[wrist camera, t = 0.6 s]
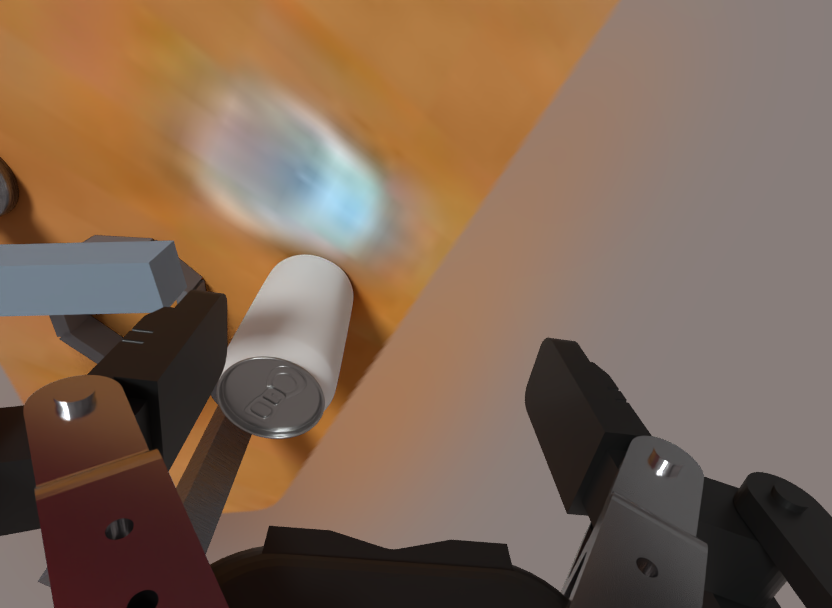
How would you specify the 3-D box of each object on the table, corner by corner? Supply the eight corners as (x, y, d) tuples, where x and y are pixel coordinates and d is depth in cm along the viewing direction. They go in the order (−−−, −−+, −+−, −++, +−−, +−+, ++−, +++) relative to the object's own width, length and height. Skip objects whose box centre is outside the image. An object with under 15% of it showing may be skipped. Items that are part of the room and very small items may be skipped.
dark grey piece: (224, 323, 36) (88, 542, 21) (302, 383, 39) (234, 613, 24) (178, 364, 38) (21, 593, 23) (256, 419, 41) (165, 653, 26)
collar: (116, 208, 32) (95, 221, 29) (236, 304, 36) (225, 321, 33) (41, 294, 35) (17, 311, 33) (159, 374, 39) (144, 394, 37)
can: (371, 286, 35) (357, 394, 25) (322, 342, 37) (289, 461, 27) (298, 234, 33) (248, 328, 22) (250, 296, 35) (185, 407, 25)
